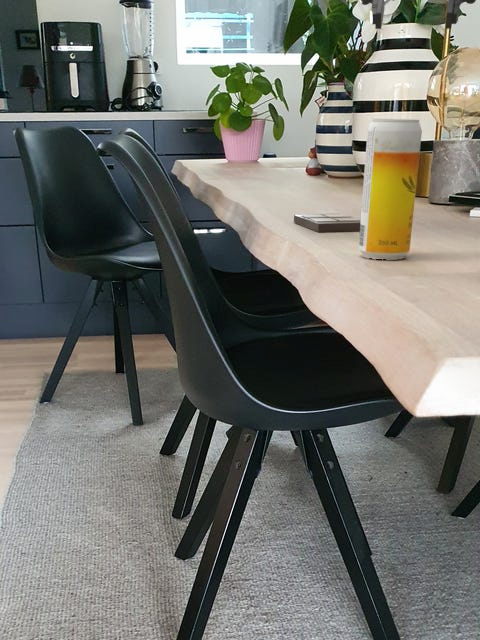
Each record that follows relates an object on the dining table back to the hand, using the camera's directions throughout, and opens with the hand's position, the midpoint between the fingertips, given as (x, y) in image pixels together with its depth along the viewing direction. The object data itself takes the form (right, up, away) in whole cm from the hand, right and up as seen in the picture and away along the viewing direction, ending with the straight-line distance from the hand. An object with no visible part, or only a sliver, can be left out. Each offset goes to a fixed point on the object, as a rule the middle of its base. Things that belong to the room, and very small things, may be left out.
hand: (413, 22), depth 98 cm
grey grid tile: (-8, -17, +23) cm, 29 cm away
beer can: (-4, -29, -1) cm, 29 cm away
